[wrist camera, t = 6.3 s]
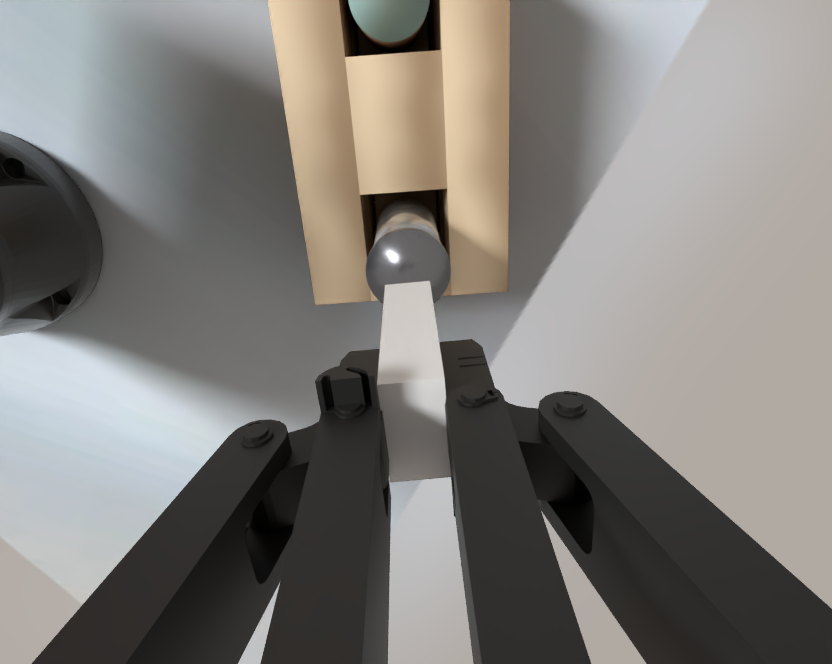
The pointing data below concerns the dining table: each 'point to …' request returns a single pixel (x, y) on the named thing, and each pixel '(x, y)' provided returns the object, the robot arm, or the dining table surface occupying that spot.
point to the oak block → (398, 137)
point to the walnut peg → (390, 21)
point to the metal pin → (407, 249)
